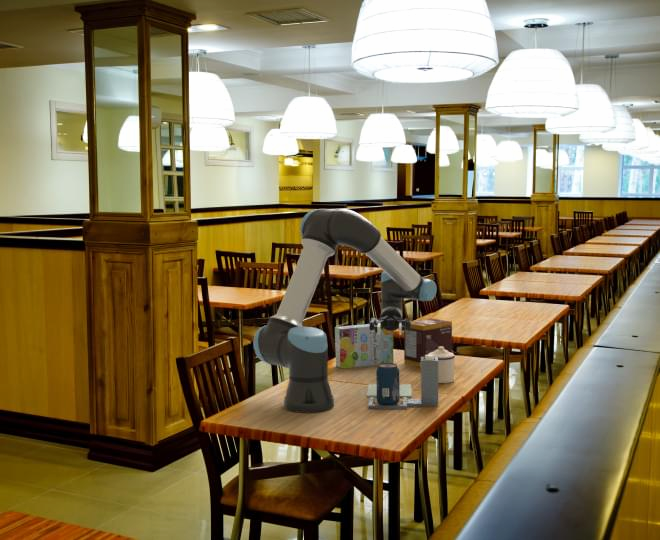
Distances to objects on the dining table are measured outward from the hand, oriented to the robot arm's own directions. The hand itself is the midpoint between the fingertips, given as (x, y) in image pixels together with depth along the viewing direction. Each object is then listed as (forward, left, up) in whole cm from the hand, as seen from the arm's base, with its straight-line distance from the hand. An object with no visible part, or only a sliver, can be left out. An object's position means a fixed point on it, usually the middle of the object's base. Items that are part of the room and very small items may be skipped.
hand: (389, 330), depth 242 cm
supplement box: (+42, +15, -20) cm, 49 cm away
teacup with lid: (+22, -3, -20) cm, 30 cm away
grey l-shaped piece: (-9, -12, -20) cm, 25 cm away
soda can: (-11, -8, -20) cm, 24 cm away
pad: (0, 0, -20) cm, 20 cm away
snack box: (+24, +31, -20) cm, 44 cm away
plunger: (-3, -18, -11) cm, 21 cm away
